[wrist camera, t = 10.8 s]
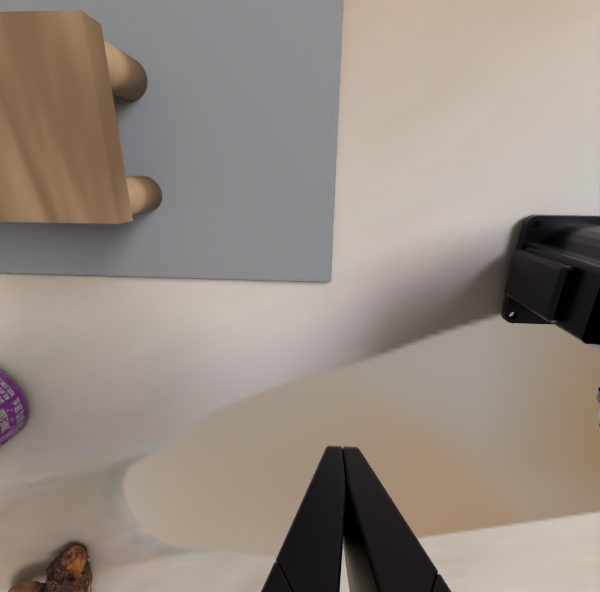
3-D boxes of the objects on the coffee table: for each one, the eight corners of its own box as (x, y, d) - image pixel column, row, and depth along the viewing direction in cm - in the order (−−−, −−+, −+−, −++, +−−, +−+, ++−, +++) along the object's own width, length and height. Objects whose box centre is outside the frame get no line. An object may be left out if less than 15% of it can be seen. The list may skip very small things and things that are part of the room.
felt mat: (345, -49, 15) (345, -53, 15) (330, 280, 21) (330, 281, 20) (-133, -36, 16) (-141, -40, 16) (-28, 270, 22) (-32, 272, 22)
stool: (81, 10, 12) (-115, 13, 13) (118, 223, 15) (-44, 220, 16) (144, 54, 17) (-4, 55, 17) (164, 213, 20) (37, 211, 20)
